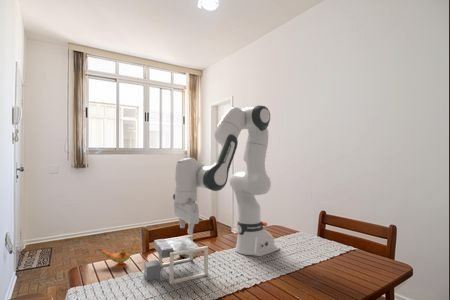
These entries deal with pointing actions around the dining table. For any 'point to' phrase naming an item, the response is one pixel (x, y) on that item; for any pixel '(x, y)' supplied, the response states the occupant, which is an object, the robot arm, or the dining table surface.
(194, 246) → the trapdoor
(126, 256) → the magic lamp
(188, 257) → the rock sample
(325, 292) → the dining table surface
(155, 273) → the stone
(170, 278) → the frame
